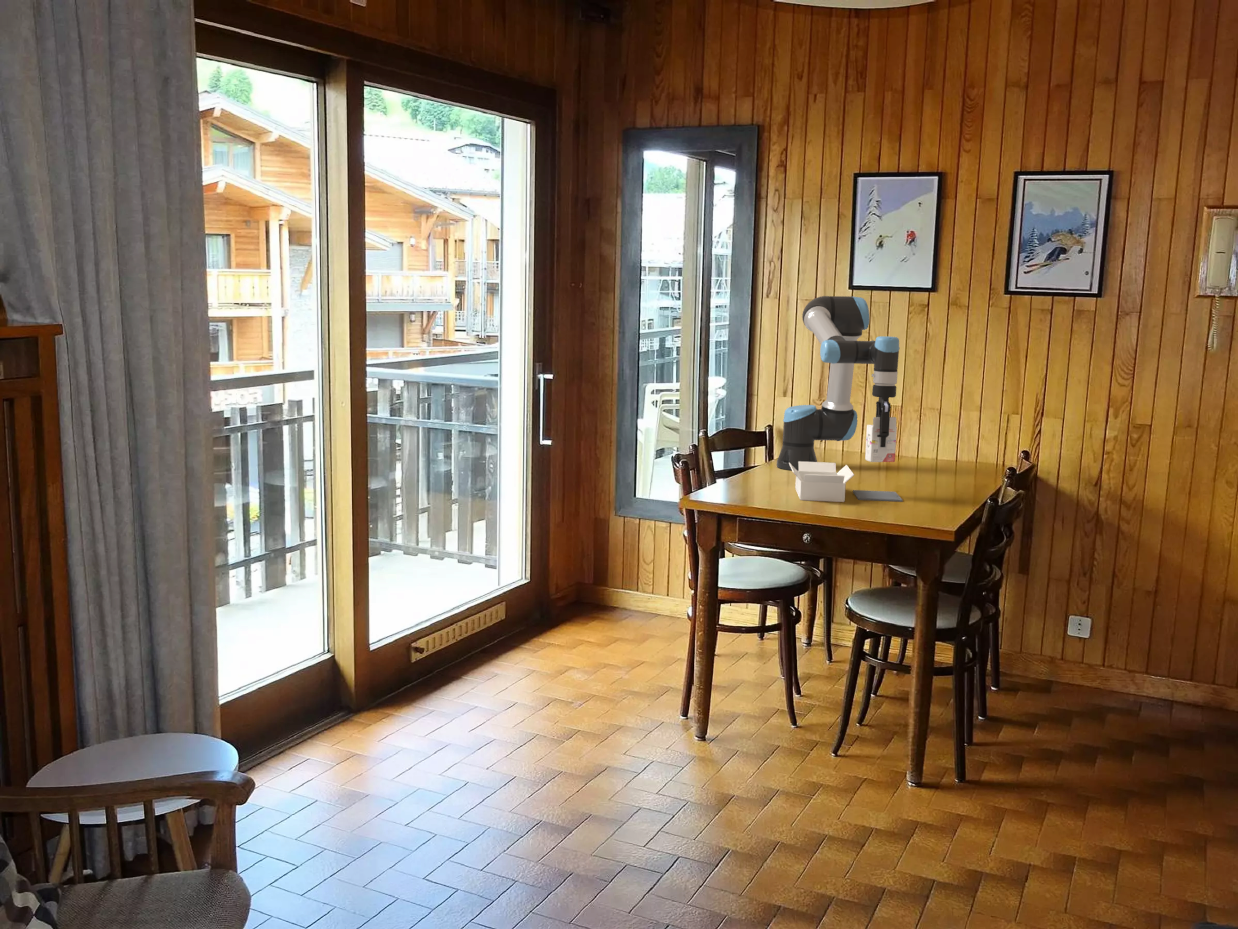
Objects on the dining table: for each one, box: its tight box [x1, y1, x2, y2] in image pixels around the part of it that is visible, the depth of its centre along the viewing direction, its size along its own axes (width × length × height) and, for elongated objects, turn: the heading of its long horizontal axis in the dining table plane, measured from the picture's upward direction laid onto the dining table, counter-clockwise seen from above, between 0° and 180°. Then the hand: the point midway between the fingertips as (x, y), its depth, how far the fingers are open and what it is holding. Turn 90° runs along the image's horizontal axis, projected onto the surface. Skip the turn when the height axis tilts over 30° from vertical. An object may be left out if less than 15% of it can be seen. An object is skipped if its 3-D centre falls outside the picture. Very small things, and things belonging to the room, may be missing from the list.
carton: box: [789, 461, 855, 503], centre depth 366 cm, size 25×19×9 cm
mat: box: [852, 489, 904, 503], centre depth 367 cm, size 14×14×1 cm
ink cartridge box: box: [864, 416, 898, 463], centre depth 364 cm, size 9×5×15 cm, turn 101°
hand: (880, 455), depth 364 cm, fingers closed on ink cartridge box, 6 cm apart
